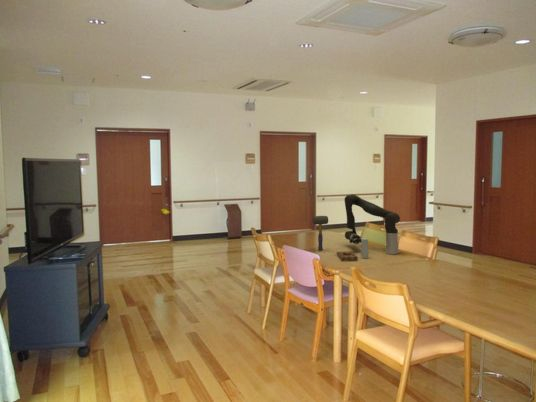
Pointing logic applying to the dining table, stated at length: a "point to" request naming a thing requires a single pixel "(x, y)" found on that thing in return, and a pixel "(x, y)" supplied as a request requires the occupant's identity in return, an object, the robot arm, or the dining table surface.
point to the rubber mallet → (320, 228)
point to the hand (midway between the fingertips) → (360, 242)
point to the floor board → (347, 256)
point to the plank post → (364, 247)
